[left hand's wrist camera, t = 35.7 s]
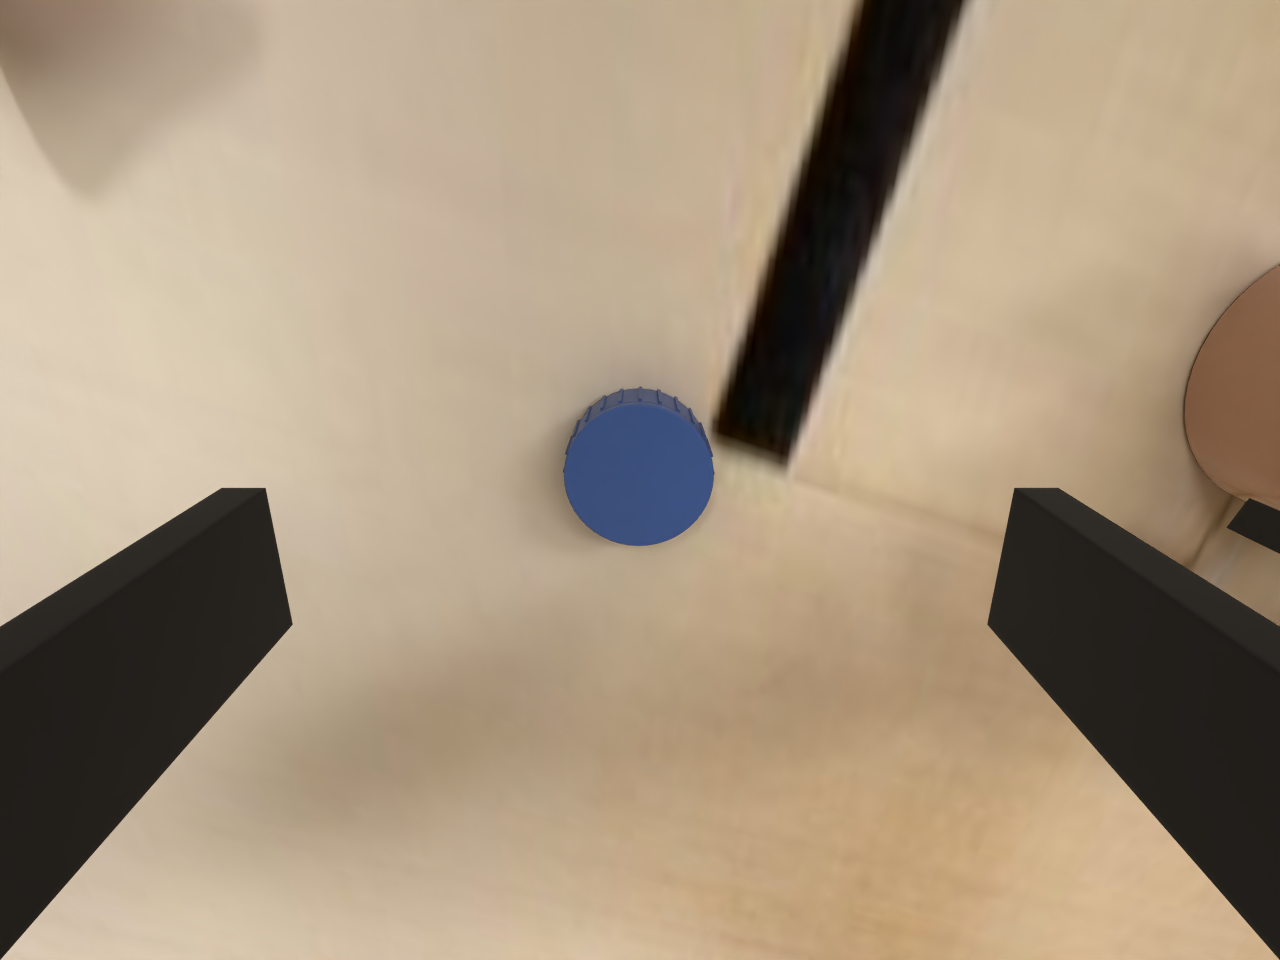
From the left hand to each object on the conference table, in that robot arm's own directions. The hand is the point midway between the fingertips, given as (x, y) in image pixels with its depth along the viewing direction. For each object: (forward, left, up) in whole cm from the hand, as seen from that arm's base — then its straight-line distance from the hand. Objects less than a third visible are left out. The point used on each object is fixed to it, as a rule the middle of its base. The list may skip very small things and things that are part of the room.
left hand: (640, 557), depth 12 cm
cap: (0, 0, -6) cm, 6 cm away
